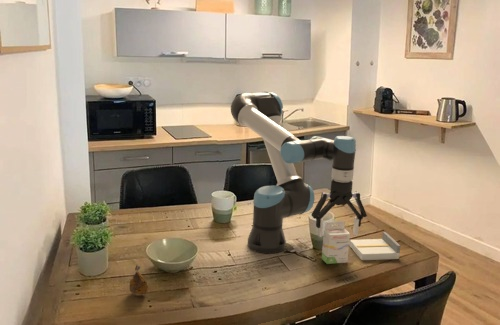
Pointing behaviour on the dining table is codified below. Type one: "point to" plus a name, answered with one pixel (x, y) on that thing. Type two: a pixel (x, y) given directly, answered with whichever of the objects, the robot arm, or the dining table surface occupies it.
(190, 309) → the dining table surface
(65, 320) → the dining table surface
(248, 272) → the dining table surface
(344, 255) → the ink box
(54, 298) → the dining table surface
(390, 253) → the dock
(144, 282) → the brown pointed lump
